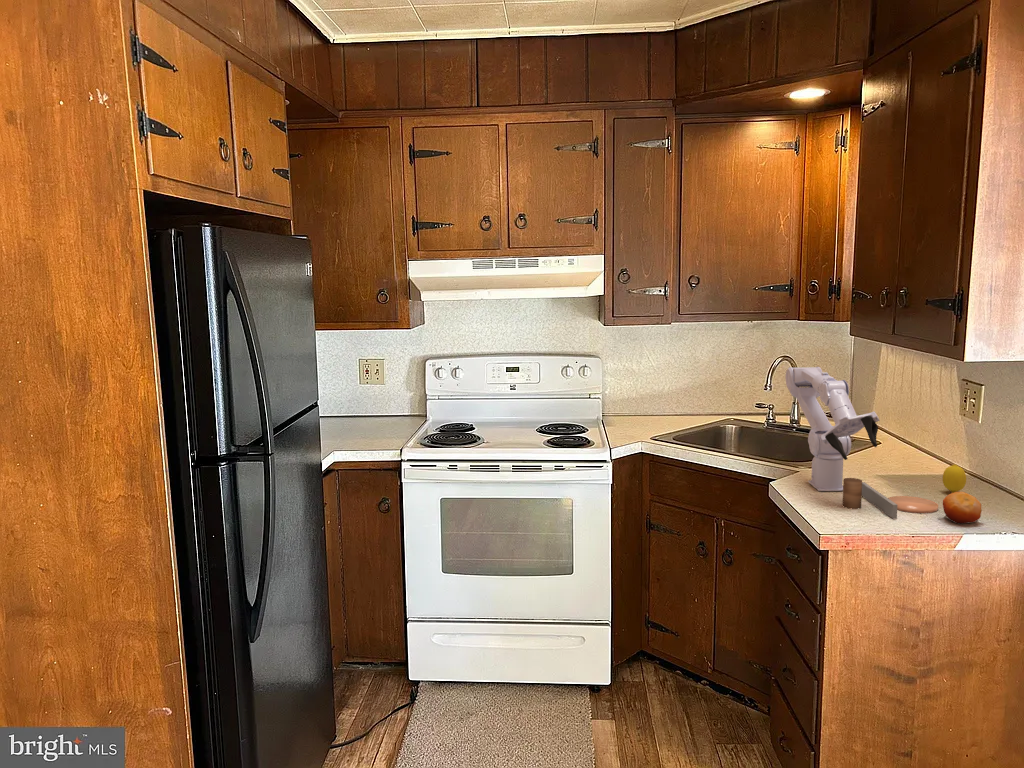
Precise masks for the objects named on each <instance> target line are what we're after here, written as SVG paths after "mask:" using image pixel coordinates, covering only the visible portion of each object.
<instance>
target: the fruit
mask: <svg viewBox="0 0 1024 768" xmlns="http://www.w3.org/2000/svg"><path fill="white" fill-rule="evenodd" d="M942 509H943V513H944V514H945V515H944V518H945V517H947V519H948V520H950V521H951V522H954V523H955V524H958V523H960V525H961V524H970V523H975V522H977V521H978V520H980V519H981V516H982V511H983V510H982V504H981V502H980V501H979V500H978V498H976V497H975V496H973V495H972V494H969V493H967V492H964V491H957V492H954V493H952V492H951V493H949V494H947V495H946V496H945V497H944V498H942Z"/></svg>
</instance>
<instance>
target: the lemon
mask: <svg viewBox="0 0 1024 768" xmlns="http://www.w3.org/2000/svg"><path fill="white" fill-rule="evenodd" d="M942 484H943V487H944V488H945V489H947V490H949V491H950V492H951V493H954V492H961V491H962V490H963V489H964V488H965V486H966V484H967V474H966V472H965V470H964V468H962V467H961V466H960V465H959V466H958V464H955V463H954V464H952V465H949V466H947V467H946V468H945V469H944V471H943V474H942Z"/></svg>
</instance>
